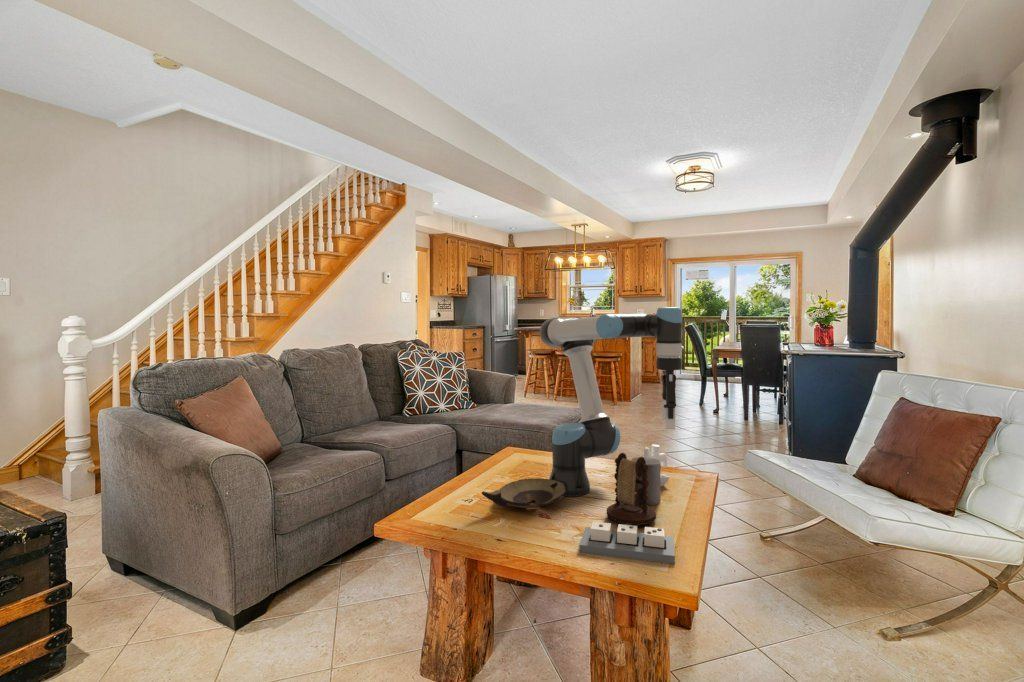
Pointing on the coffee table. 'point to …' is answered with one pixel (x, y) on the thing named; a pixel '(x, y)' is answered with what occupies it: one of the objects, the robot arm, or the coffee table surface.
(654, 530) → the white die
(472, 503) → the coffee table surface
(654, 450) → the figurine
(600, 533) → the white die
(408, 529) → the coffee table surface
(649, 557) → the button board
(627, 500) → the scroll
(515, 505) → the oil lamp
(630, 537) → the white die
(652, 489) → the pillar candle
